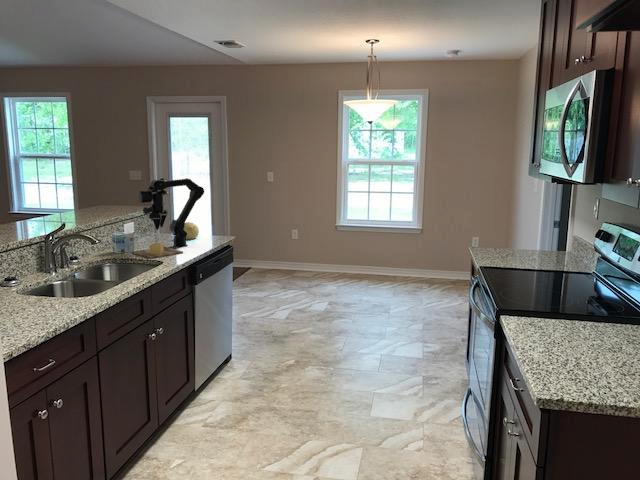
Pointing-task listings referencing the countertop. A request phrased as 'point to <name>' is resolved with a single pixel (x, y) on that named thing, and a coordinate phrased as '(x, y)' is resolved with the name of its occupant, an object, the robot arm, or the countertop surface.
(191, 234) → the sculpture
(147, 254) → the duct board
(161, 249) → the collar
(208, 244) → the countertop surface
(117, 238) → the light bulb box
